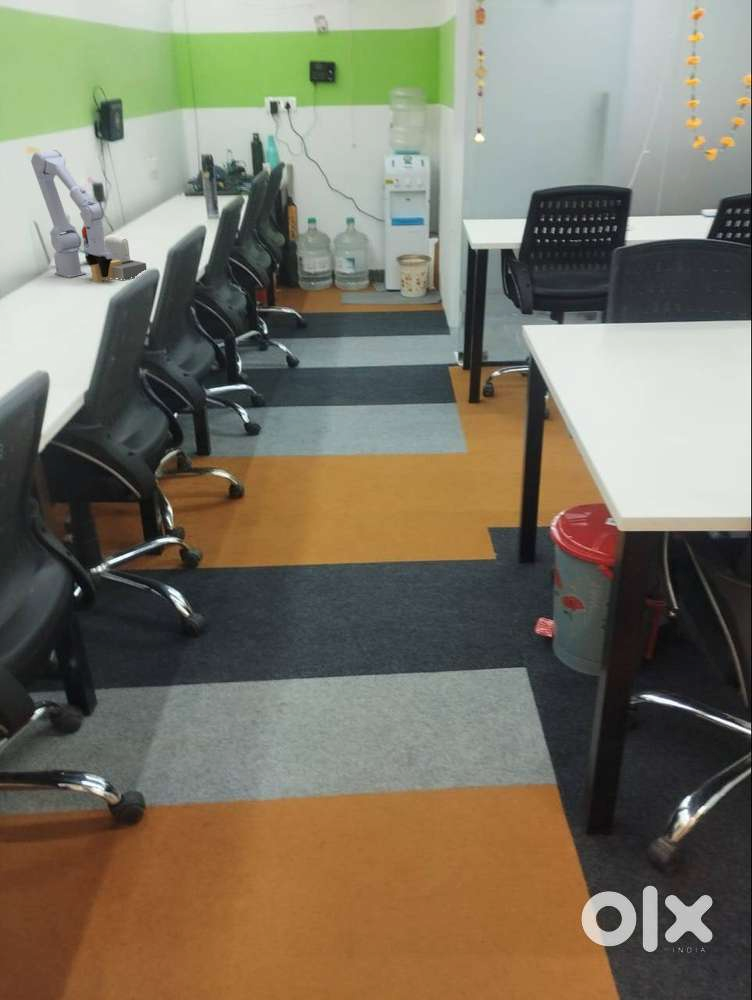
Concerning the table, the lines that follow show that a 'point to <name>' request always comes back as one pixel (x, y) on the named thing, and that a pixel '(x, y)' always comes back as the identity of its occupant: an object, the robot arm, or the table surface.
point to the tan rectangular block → (97, 271)
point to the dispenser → (128, 269)
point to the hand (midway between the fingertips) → (101, 275)
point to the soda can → (85, 239)
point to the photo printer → (117, 247)
